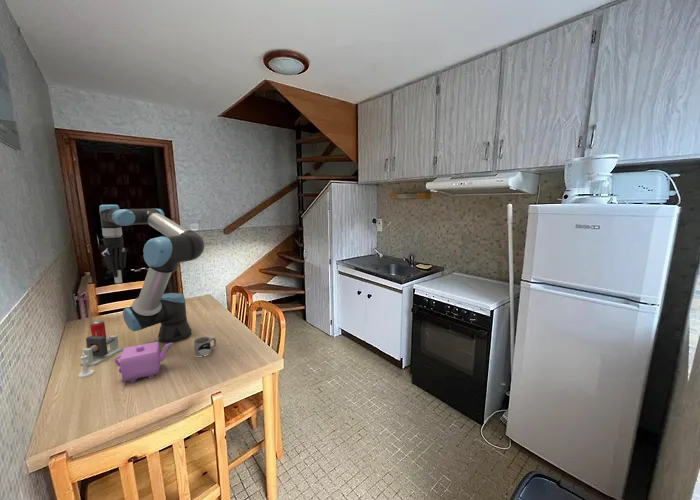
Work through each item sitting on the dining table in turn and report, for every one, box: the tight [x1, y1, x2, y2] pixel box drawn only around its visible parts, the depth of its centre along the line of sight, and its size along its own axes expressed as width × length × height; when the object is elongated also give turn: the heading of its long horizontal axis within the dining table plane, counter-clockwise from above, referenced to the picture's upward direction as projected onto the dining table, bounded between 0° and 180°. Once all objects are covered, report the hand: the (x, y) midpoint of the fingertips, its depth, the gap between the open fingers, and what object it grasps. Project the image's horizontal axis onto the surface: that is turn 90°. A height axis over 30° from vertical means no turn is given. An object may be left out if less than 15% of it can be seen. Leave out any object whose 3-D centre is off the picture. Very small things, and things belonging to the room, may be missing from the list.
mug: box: [193, 336, 217, 357], centre depth 138 cm, size 10×7×7 cm, turn 143°
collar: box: [85, 335, 108, 357], centre depth 130 cm, size 2×7×8 cm, turn 84°
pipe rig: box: [79, 335, 124, 367], centre depth 132 cm, size 14×7×7 cm, turn 173°
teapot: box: [114, 341, 174, 383], centre depth 120 cm, size 20×10×12 cm, turn 120°
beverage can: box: [89, 320, 108, 339], centre depth 142 cm, size 5×5×12 cm
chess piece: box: [78, 351, 95, 379], centre depth 119 cm, size 5×5×10 cm
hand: (118, 282), depth 147 cm, fingers closed
